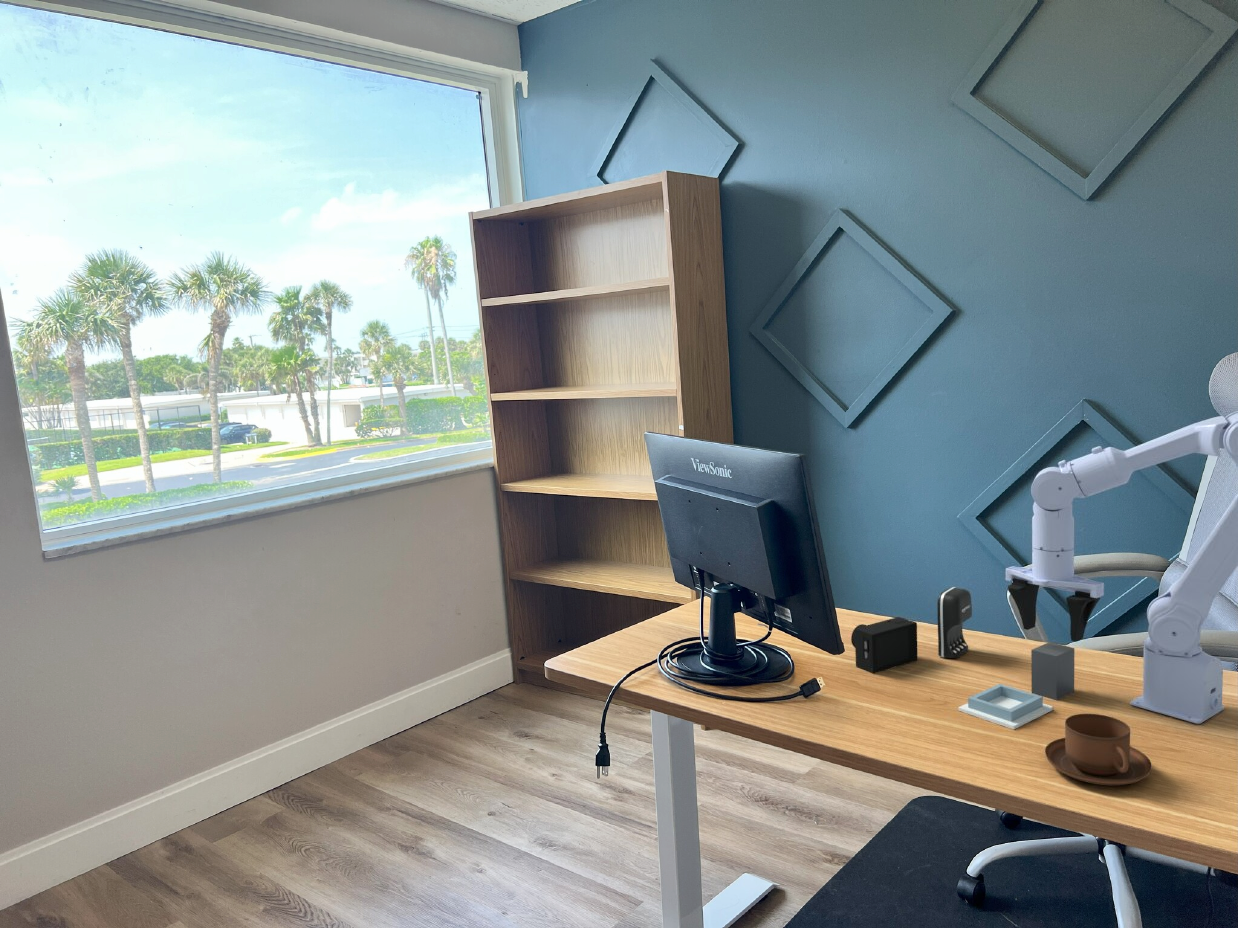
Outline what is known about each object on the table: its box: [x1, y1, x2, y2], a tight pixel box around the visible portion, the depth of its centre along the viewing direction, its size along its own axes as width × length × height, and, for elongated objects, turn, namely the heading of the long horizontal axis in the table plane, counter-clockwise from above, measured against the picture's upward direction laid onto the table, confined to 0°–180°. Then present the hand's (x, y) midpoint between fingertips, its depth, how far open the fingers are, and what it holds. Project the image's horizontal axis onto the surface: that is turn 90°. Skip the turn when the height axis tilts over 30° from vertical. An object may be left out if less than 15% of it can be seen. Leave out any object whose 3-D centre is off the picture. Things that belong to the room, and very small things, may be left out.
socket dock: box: [957, 683, 1054, 730], centre depth 135 cm, size 9×10×2 cm
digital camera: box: [850, 616, 919, 675], centre depth 157 cm, size 10×5×7 cm, turn 118°
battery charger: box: [936, 586, 973, 659], centre depth 159 cm, size 7×4×11 cm, turn 137°
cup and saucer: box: [1044, 713, 1152, 786], centre depth 116 cm, size 12×12×6 cm
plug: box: [1030, 641, 1075, 701], centre depth 140 cm, size 4×5×7 cm
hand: (1052, 633), depth 139 cm, fingers open, 7 cm apart
